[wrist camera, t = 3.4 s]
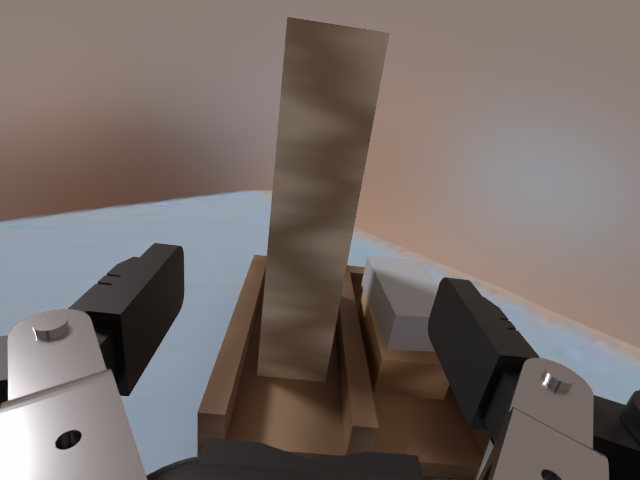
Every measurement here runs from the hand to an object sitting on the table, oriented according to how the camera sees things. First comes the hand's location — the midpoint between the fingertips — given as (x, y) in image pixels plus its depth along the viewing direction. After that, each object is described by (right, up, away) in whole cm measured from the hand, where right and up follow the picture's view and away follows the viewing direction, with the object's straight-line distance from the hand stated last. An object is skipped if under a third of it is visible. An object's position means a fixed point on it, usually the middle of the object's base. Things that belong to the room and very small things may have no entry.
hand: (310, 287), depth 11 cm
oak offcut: (+5, -6, +13) cm, 16 cm away
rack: (+2, -7, +14) cm, 15 cm away
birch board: (-1, -5, +13) cm, 14 cm away
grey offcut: (+6, -4, +13) cm, 15 cm away
